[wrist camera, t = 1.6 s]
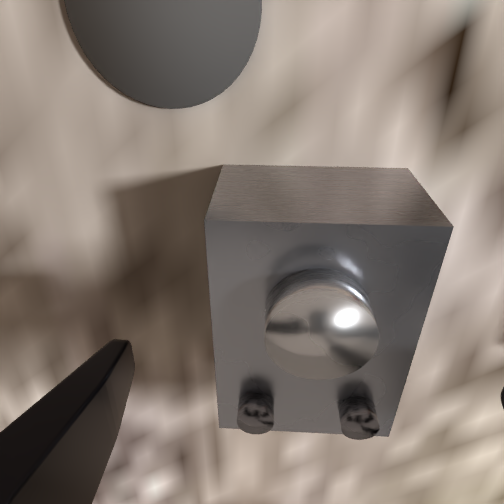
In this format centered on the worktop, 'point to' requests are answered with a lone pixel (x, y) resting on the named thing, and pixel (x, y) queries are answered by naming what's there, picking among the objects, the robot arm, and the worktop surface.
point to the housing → (318, 294)
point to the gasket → (167, 45)
